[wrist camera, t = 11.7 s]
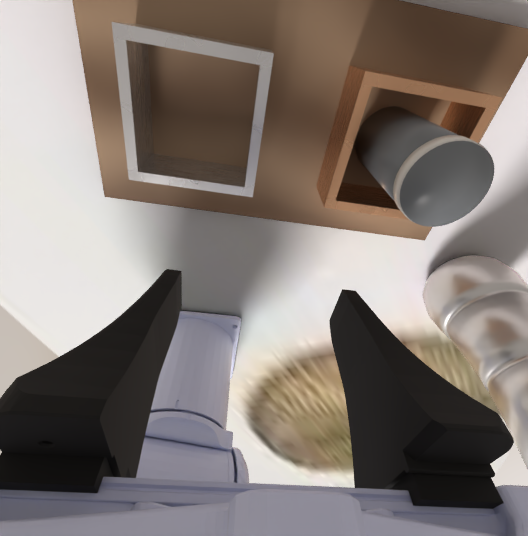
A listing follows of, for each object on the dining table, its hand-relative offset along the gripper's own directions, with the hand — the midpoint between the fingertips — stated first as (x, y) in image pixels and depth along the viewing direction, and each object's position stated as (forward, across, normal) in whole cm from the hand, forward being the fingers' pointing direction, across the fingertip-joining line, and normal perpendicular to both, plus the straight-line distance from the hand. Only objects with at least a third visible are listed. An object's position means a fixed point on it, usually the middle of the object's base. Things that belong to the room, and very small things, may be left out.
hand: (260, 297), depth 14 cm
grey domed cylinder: (+8, -6, -6) cm, 12 cm away
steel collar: (+8, +4, -5) cm, 11 cm away
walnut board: (+9, -1, -6) cm, 11 cm away
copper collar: (+9, -6, -6) cm, 13 cm away
